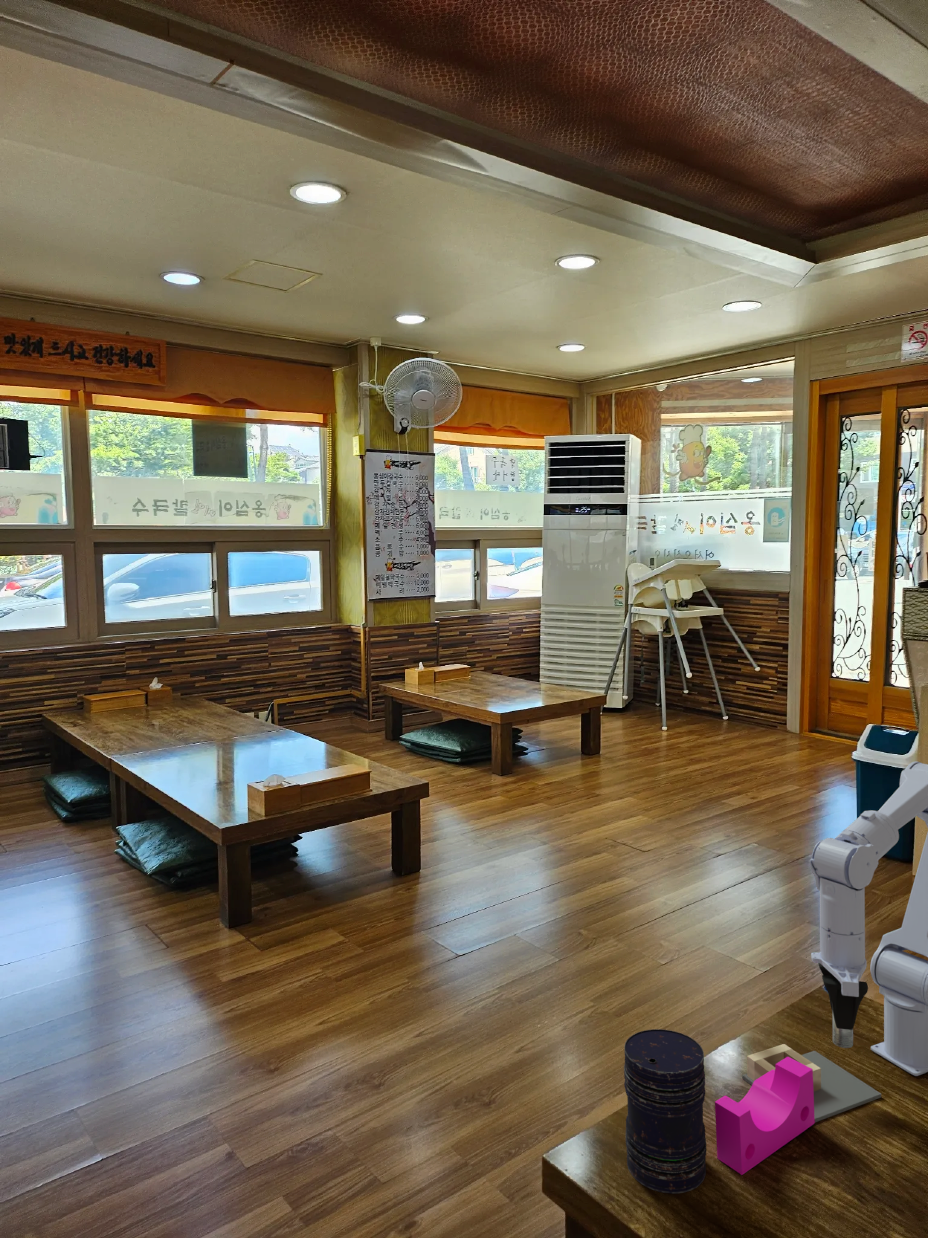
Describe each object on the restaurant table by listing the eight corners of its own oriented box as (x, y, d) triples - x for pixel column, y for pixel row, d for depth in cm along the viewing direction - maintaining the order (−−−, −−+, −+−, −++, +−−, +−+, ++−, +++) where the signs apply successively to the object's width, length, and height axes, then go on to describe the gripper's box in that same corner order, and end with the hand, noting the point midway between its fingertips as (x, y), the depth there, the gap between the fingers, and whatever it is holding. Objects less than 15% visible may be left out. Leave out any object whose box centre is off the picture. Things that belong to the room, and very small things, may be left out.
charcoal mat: (814, 1054, 130) (814, 1050, 130) (881, 1097, 119) (881, 1094, 119) (742, 1078, 125) (742, 1075, 125) (805, 1126, 114) (805, 1122, 114)
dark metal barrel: (650, 1129, 114) (647, 1020, 113) (720, 1161, 108) (718, 1045, 107) (611, 1170, 107) (608, 1054, 106) (684, 1207, 100) (681, 1083, 99)
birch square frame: (784, 1063, 127) (784, 1044, 127) (821, 1089, 121) (820, 1068, 121) (747, 1076, 125) (747, 1056, 124) (783, 1102, 118) (782, 1081, 118)
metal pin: (842, 1036, 122) (841, 981, 121) (857, 1045, 119) (856, 989, 119) (828, 1040, 121) (828, 985, 120) (843, 1050, 118) (843, 993, 118)
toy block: (773, 1100, 119) (771, 1048, 118) (814, 1123, 114) (812, 1069, 113) (701, 1148, 110) (698, 1092, 110) (741, 1175, 105) (739, 1117, 105)
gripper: (805, 904, 127) (806, 993, 128) (817, 946, 113) (818, 1046, 114) (857, 908, 125) (857, 999, 126) (875, 951, 111) (876, 1053, 112)
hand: (842, 1022), depth 120 cm, fingers closed on metal pin, 3 cm apart
